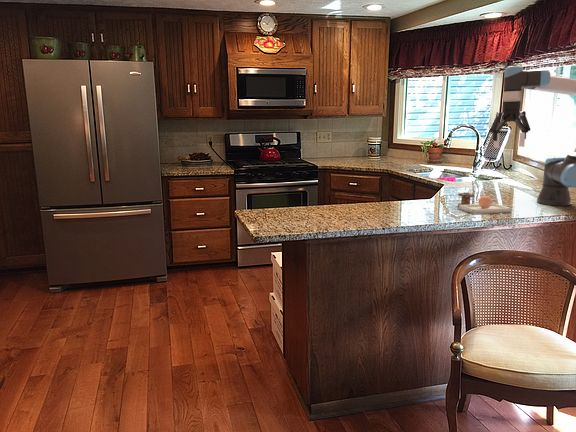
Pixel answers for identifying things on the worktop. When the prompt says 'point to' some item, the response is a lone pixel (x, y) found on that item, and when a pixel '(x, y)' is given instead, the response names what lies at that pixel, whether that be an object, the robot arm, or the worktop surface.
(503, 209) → the tray
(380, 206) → the worktop surface
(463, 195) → the pedestal
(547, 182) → the robot arm
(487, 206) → the ball
